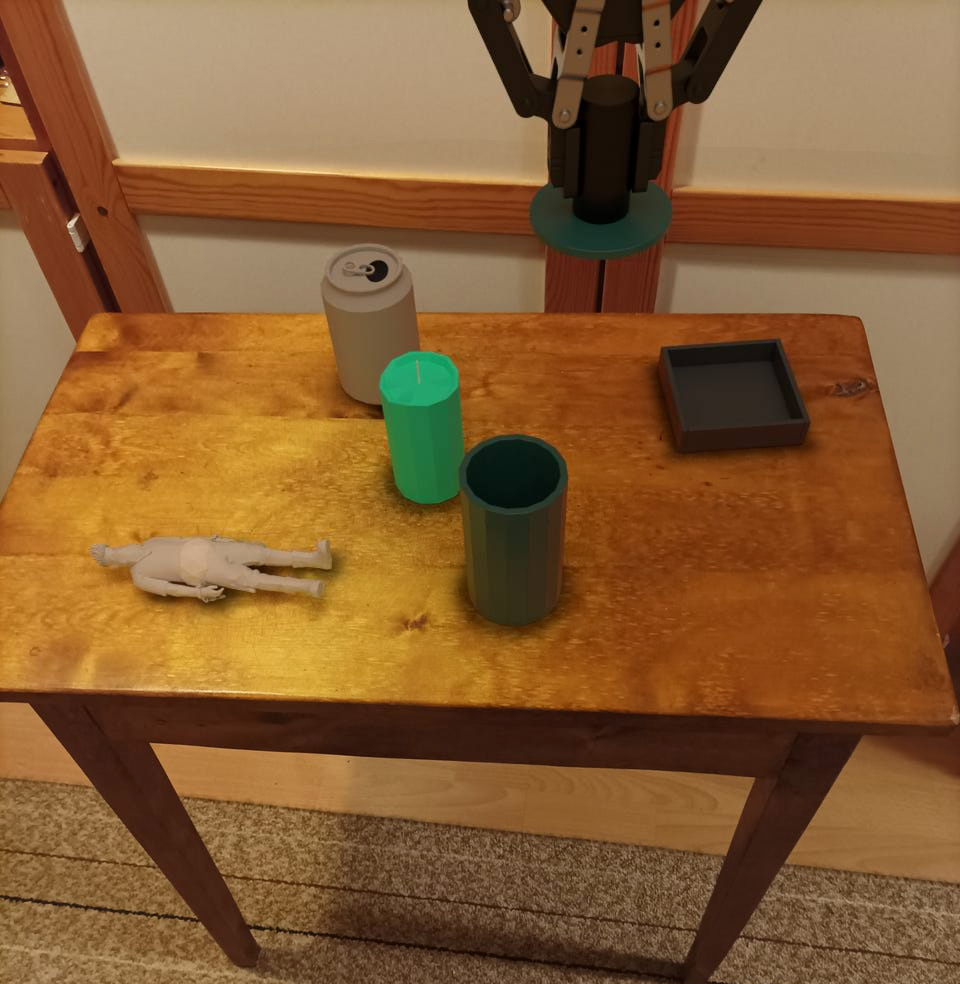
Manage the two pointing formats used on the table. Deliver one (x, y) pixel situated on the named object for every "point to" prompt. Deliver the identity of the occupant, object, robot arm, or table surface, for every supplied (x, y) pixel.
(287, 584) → the figurine
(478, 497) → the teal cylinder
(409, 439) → the candle
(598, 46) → the robot arm
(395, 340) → the can
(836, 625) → the table surface
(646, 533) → the table surface
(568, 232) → the pan lid
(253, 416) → the table surface
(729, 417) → the square tray
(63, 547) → the table surface
